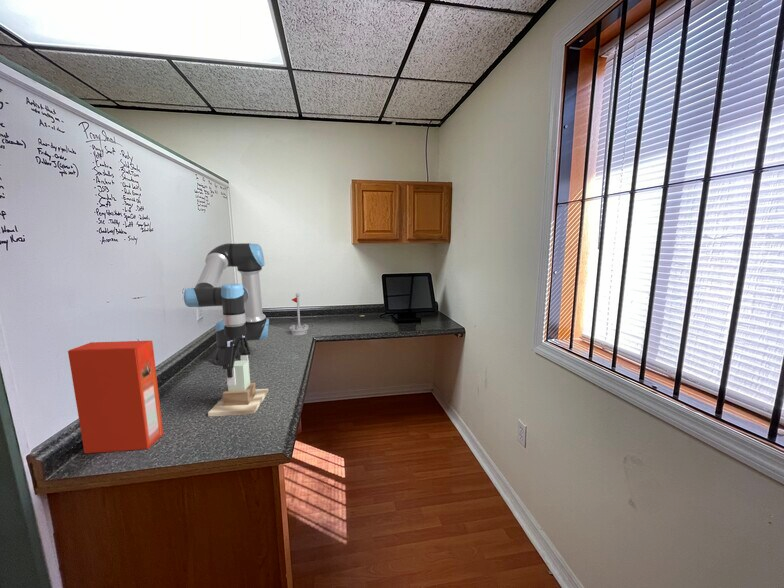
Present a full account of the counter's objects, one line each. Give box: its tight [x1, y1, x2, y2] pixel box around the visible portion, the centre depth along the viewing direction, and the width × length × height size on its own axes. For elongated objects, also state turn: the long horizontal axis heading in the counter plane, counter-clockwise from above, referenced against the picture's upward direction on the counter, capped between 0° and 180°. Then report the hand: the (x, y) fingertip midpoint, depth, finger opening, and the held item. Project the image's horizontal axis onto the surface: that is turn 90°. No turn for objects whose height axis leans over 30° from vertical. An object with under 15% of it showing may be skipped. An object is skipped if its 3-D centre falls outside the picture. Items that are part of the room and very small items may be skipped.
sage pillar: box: [227, 359, 251, 391], centre depth 119 cm, size 6×6×10 cm
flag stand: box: [289, 292, 309, 336], centre depth 223 cm, size 13×13×30 cm
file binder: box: [67, 340, 164, 455], centre depth 93 cm, size 8×17×32 cm, turn 97°
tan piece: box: [207, 381, 269, 417], centre depth 120 cm, size 18×16×6 cm
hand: (238, 377), depth 119 cm, fingers open, 13 cm apart
